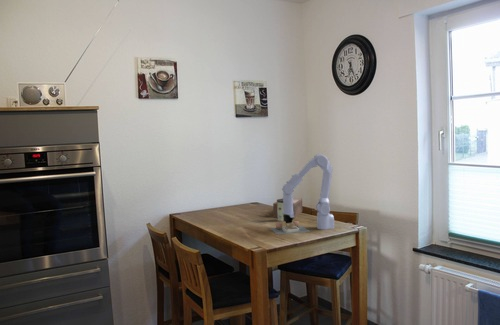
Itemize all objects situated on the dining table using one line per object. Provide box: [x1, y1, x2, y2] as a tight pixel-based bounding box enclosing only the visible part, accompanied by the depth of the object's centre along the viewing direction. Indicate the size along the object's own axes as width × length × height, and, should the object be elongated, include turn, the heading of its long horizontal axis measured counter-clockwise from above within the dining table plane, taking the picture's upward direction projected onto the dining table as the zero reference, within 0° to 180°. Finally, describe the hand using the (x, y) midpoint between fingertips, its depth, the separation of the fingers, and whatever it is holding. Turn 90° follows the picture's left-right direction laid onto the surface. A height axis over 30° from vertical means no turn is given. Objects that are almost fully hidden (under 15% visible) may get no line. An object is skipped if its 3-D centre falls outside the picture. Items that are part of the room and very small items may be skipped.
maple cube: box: [285, 222, 295, 230], centre depth 224 cm, size 4×4×4 cm
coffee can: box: [276, 198, 286, 222], centre depth 254 cm, size 10×10×14 cm
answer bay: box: [282, 226, 300, 233], centre depth 224 cm, size 8×8×2 cm
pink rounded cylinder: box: [292, 220, 300, 228], centre depth 231 cm, size 4×4×4 cm
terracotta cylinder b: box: [275, 221, 284, 229], centre depth 229 cm, size 4×4×4 cm
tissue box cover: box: [272, 197, 303, 220], centre depth 276 cm, size 26×14×10 cm, turn 160°
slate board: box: [269, 225, 312, 235], centre depth 226 cm, size 20×16×1 cm
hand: (288, 227), depth 227 cm, fingers closed
